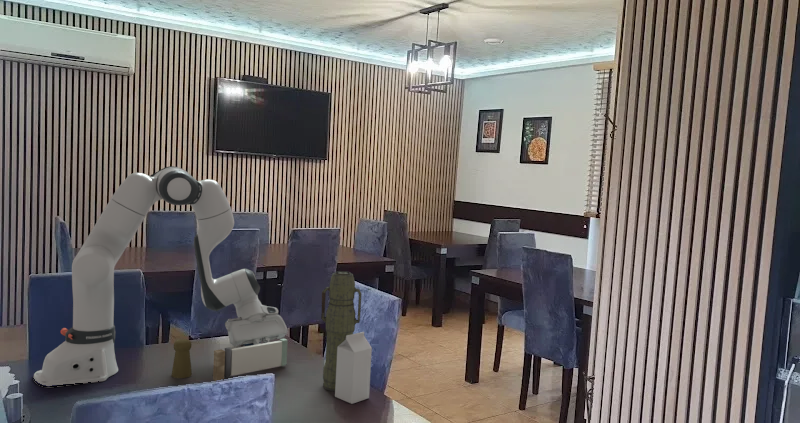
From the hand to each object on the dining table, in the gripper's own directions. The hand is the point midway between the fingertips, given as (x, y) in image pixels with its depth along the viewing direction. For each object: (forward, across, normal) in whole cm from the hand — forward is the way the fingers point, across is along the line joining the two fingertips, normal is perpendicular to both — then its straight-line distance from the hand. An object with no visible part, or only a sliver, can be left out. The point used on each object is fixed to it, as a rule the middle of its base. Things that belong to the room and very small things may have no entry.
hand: (265, 351), depth 205 cm
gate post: (+6, -19, 0) cm, 20 cm away
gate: (+6, -6, -1) cm, 9 cm away
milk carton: (+31, +6, -24) cm, 40 cm away
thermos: (+24, +8, -17) cm, 30 cm away
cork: (0, -26, +7) cm, 27 cm away
